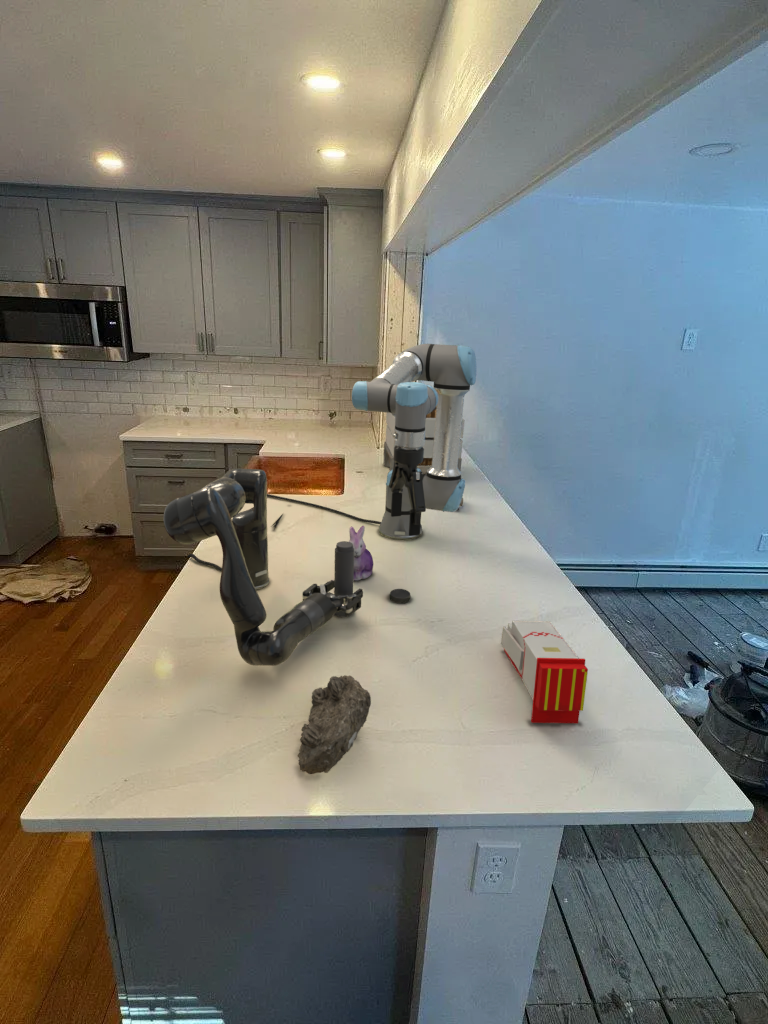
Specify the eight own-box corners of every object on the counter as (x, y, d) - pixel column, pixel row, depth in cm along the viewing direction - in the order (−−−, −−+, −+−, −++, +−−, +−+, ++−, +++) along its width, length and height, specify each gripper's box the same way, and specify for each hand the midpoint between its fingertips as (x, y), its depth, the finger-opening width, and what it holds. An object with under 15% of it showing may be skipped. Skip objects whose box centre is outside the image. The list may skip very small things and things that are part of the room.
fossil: (305, 676, 114) (363, 644, 109) (335, 707, 117) (393, 676, 112) (276, 768, 94) (345, 733, 89) (313, 802, 97) (382, 770, 92)
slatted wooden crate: (382, 463, 289) (386, 382, 275) (445, 464, 293) (451, 384, 279) (390, 482, 257) (394, 392, 243) (460, 483, 261) (468, 394, 247)
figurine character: (463, 515, 225) (458, 499, 238) (465, 497, 221) (460, 482, 235) (446, 514, 224) (442, 498, 238) (448, 497, 221) (444, 482, 235)
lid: (395, 605, 152) (395, 599, 151) (386, 595, 157) (386, 590, 156) (413, 601, 154) (414, 596, 154) (404, 592, 159) (404, 587, 158)
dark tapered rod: (290, 508, 223) (292, 504, 223) (272, 532, 197) (275, 527, 196) (286, 505, 223) (289, 501, 223) (268, 529, 197) (271, 525, 196)
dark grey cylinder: (333, 616, 145) (334, 547, 138) (334, 607, 149) (335, 540, 143) (351, 617, 145) (353, 548, 138) (353, 608, 149) (354, 540, 143)
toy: (547, 606, 135) (596, 665, 106) (541, 658, 138) (589, 729, 108) (496, 604, 134) (532, 664, 105) (492, 657, 137) (526, 729, 108)
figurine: (351, 584, 162) (352, 535, 157) (337, 569, 170) (338, 523, 165) (380, 578, 166) (383, 531, 161) (365, 564, 174) (367, 519, 169)
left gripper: (336, 608, 128) (371, 581, 142) (285, 592, 135) (324, 567, 148) (335, 637, 131) (370, 607, 144) (286, 620, 137) (324, 593, 151)
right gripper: (379, 435, 151) (376, 509, 159) (413, 460, 129) (408, 545, 137) (405, 434, 153) (401, 507, 161) (443, 458, 131) (436, 542, 139)
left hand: (347, 587), depth 146 cm, fingers open, 8 cm apart
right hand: (404, 525), depth 149 cm, fingers open, 13 cm apart
